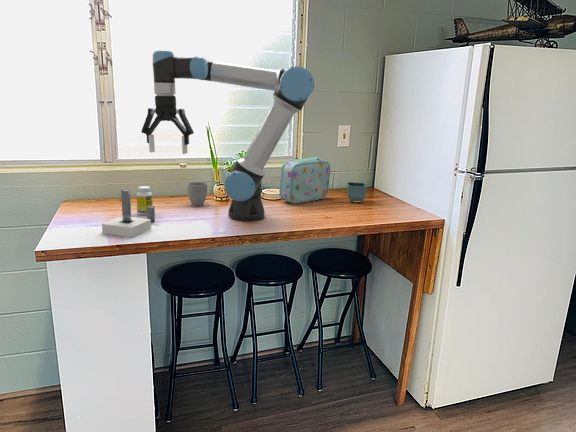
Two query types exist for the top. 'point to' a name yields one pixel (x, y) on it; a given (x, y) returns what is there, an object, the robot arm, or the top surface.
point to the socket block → (126, 227)
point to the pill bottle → (143, 199)
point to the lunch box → (304, 180)
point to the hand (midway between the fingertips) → (168, 152)
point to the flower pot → (356, 191)
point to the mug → (197, 193)
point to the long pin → (126, 206)
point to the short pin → (151, 213)
